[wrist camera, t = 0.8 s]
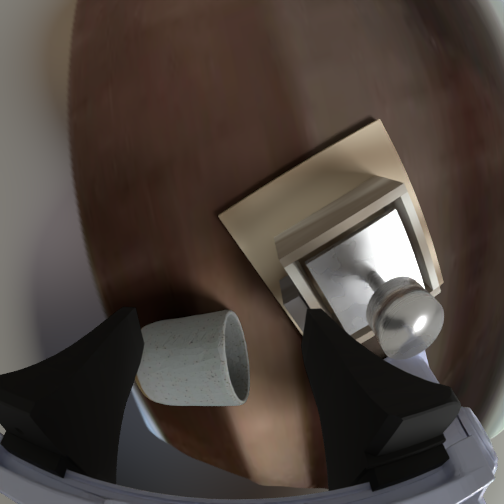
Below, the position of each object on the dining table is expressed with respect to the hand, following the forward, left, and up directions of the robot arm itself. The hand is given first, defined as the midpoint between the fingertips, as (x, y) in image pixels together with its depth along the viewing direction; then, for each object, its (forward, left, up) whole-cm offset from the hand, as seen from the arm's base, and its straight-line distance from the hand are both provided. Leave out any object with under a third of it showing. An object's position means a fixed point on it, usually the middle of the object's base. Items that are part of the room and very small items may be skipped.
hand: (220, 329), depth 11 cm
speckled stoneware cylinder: (-7, +8, -11) cm, 15 cm away
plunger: (-5, -7, -7) cm, 12 cm away
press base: (-5, -7, -11) cm, 14 cm away
